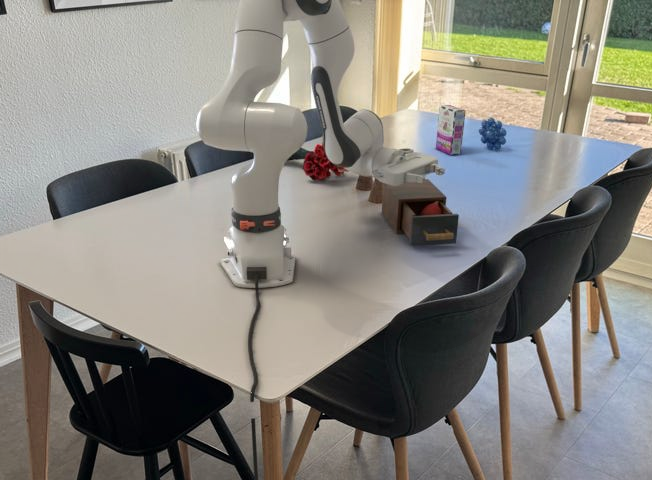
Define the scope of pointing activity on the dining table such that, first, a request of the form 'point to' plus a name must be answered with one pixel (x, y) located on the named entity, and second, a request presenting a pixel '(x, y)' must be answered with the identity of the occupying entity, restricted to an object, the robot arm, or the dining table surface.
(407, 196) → the cabinet
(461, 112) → the candy bar box
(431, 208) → the onion
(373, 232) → the dining table surface
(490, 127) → the grapes
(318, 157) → the carnation
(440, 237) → the drawer
